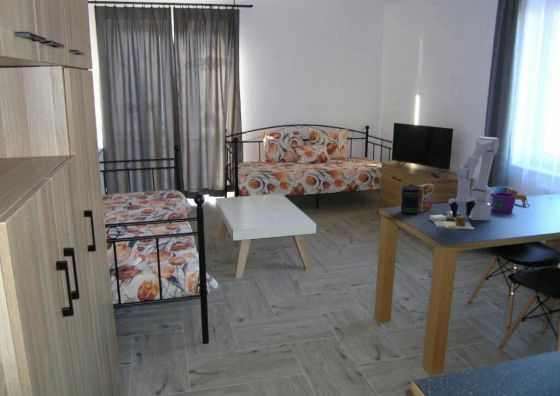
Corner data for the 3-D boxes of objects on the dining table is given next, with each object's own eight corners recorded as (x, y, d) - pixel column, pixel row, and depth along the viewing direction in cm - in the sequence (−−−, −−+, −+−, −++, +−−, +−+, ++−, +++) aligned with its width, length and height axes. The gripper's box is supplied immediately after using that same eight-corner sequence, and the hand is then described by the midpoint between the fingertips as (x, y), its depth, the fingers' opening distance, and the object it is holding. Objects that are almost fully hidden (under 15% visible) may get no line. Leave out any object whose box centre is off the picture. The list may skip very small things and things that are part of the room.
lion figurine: (503, 202, 287) (505, 188, 285) (507, 201, 290) (509, 186, 288) (527, 207, 276) (529, 192, 273) (532, 206, 279) (534, 191, 277)
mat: (468, 222, 248) (468, 221, 248) (474, 229, 237) (474, 227, 237) (433, 221, 250) (433, 220, 250) (437, 228, 239) (437, 226, 239)
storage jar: (417, 211, 270) (419, 185, 266) (419, 216, 260) (421, 189, 257) (399, 210, 271) (401, 185, 268) (401, 215, 262) (402, 189, 258)
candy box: (421, 212, 267) (423, 186, 264) (415, 210, 271) (417, 184, 267) (431, 209, 272) (433, 184, 268) (425, 208, 276) (427, 182, 272)
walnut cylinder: (463, 223, 245) (464, 216, 244) (465, 226, 241) (466, 218, 240) (454, 223, 245) (455, 216, 244) (456, 226, 241) (457, 218, 240)
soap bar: (441, 218, 256) (441, 214, 255) (445, 221, 252) (446, 216, 251) (429, 219, 254) (429, 215, 254) (434, 222, 250) (434, 217, 249)
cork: (459, 220, 252) (460, 212, 251) (461, 222, 249) (461, 213, 248) (453, 220, 252) (454, 212, 251) (455, 221, 249) (455, 213, 248)
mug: (517, 212, 267) (519, 194, 264) (506, 215, 261) (508, 197, 258) (489, 205, 281) (490, 189, 278) (477, 208, 274) (479, 191, 272)
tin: (455, 217, 259) (456, 210, 258) (457, 220, 253) (458, 213, 252) (444, 216, 260) (444, 210, 259) (445, 219, 254) (446, 213, 253)
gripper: (471, 188, 244) (469, 213, 247) (446, 189, 241) (444, 214, 244) (479, 191, 237) (477, 216, 240) (453, 192, 234) (451, 218, 237)
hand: (461, 216), depth 242 cm, fingers open, 7 cm apart
